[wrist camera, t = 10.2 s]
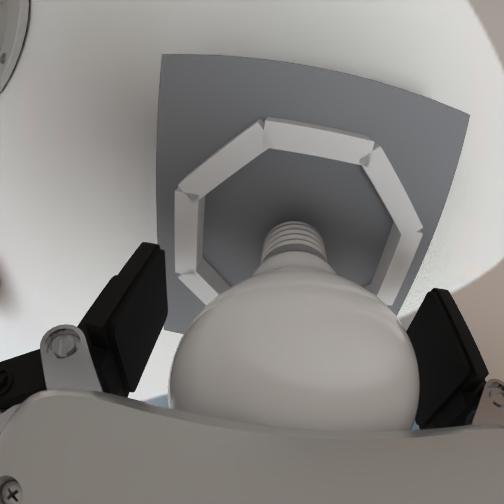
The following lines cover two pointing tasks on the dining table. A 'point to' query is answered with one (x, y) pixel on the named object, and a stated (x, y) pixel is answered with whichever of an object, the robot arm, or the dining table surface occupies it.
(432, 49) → the dining table surface
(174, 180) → the octagon ring base plate
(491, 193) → the dining table surface
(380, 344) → the lightbulb
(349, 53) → the dining table surface
